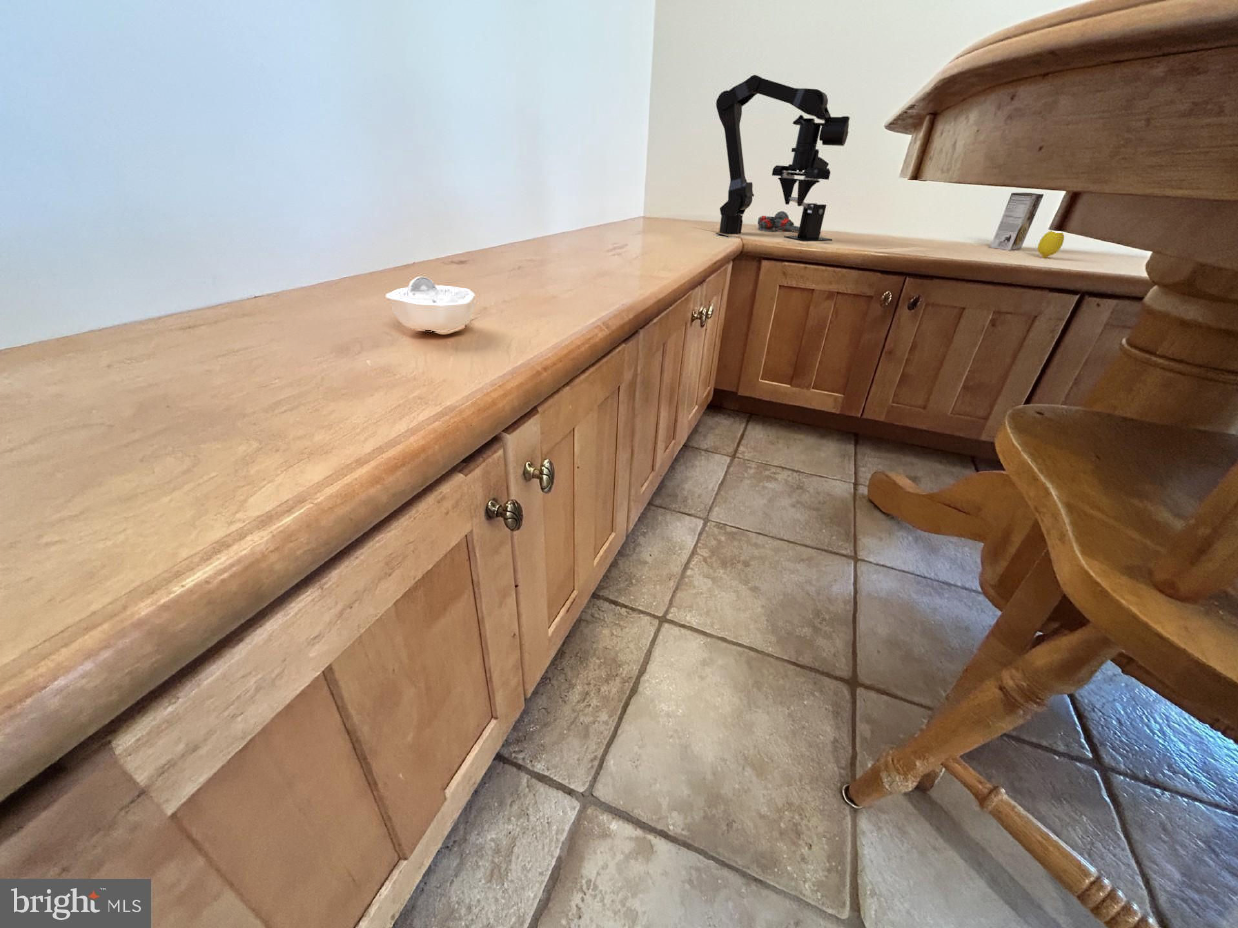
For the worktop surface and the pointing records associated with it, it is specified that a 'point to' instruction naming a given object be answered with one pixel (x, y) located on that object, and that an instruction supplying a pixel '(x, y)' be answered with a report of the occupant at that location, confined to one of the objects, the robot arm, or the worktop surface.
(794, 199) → the tap lever
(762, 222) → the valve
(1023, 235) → the coffee box
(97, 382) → the worktop surface
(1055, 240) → the lemon
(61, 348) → the worktop surface
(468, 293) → the cell model
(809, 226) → the tap bracket
